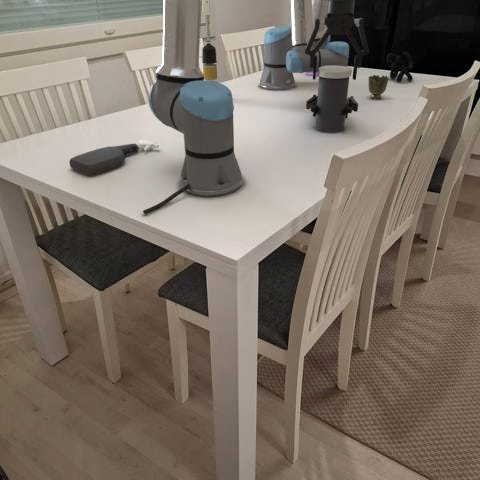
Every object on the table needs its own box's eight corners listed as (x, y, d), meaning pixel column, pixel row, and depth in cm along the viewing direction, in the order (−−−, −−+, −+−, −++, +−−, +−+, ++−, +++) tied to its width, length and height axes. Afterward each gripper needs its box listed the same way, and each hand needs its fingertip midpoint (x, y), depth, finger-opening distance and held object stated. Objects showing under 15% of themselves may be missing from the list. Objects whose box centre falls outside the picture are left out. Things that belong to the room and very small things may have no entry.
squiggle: (400, 92, 202) (376, 71, 205) (417, 76, 202) (392, 56, 205) (405, 81, 191) (380, 59, 194) (423, 64, 191) (397, 42, 194)
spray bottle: (67, 168, 120) (139, 144, 136) (91, 178, 114) (163, 151, 130) (65, 157, 118) (137, 134, 134) (89, 167, 112) (162, 142, 128)
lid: (310, 73, 138) (311, 67, 137) (336, 70, 142) (337, 64, 141) (331, 80, 131) (332, 73, 130) (358, 75, 135) (359, 69, 134)
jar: (318, 133, 141) (323, 75, 132) (312, 124, 149) (316, 68, 140) (347, 132, 142) (353, 74, 132) (339, 123, 149) (345, 68, 140)
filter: (220, 99, 177) (217, 15, 161) (206, 100, 176) (202, 16, 160) (215, 96, 182) (212, 14, 166) (202, 97, 180) (197, 14, 164)
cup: (363, 99, 174) (366, 77, 170) (368, 94, 179) (371, 73, 175) (383, 101, 171) (386, 79, 167) (387, 96, 176) (390, 75, 172)
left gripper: (298, -1, 123) (295, 81, 135) (387, -2, 121) (375, 81, 133) (298, -3, 130) (295, 75, 141) (382, -4, 127) (371, 76, 139)
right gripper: (364, 107, 157) (365, 126, 138) (301, 104, 161) (294, 123, 142) (367, 85, 153) (368, 102, 134) (303, 82, 157) (295, 99, 138)
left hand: (334, 78), depth 137 cm, fingers open, 11 cm apart
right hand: (330, 113), depth 138 cm, fingers closed on jar, 9 cm apart
